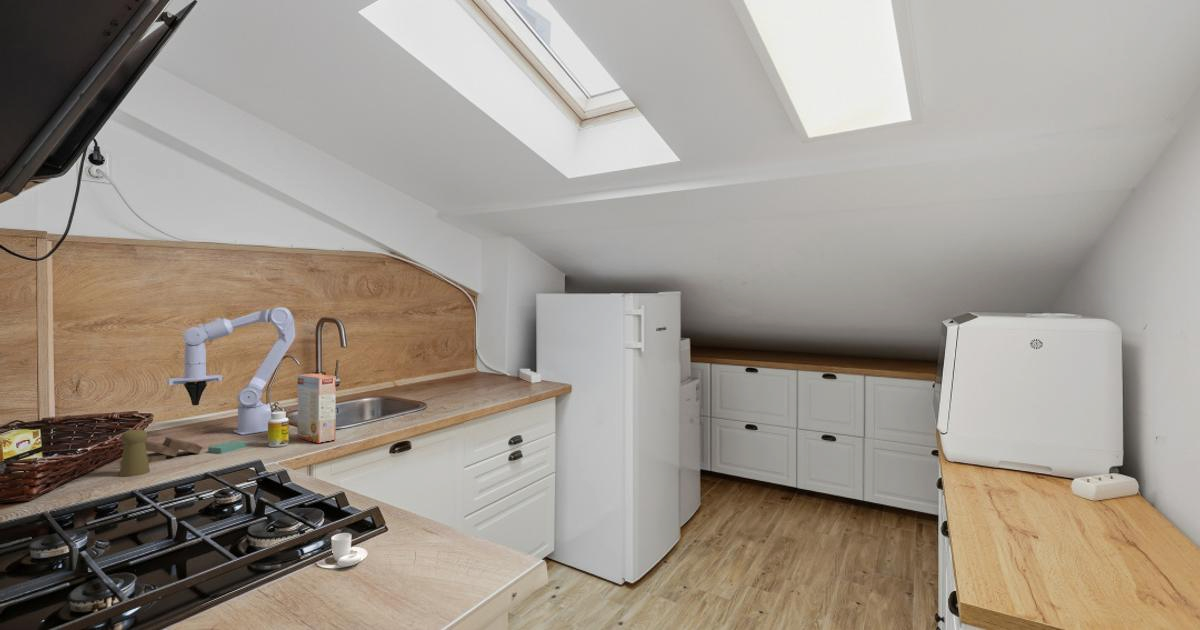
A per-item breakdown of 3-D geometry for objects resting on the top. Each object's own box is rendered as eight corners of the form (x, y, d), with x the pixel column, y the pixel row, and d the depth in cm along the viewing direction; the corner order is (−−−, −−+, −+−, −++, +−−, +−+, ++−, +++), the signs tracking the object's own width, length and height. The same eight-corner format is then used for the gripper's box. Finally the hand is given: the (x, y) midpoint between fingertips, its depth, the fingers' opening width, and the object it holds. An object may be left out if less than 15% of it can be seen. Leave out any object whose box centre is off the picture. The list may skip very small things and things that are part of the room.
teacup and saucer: (363, 570, 91) (363, 545, 91) (310, 576, 89) (309, 551, 88) (370, 547, 99) (370, 525, 99) (321, 552, 97) (321, 529, 97)
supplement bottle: (282, 447, 168) (282, 414, 167) (264, 447, 167) (263, 414, 167) (292, 443, 173) (292, 410, 173) (274, 443, 173) (274, 410, 173)
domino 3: (196, 443, 164) (166, 437, 158) (202, 447, 161) (172, 440, 155) (192, 450, 163) (162, 443, 157) (199, 453, 160) (168, 447, 154)
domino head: (233, 440, 169) (208, 447, 162) (246, 442, 168) (221, 448, 160) (233, 447, 170) (208, 453, 162) (246, 448, 168) (221, 455, 160)
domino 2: (162, 451, 157) (125, 456, 151) (165, 454, 154) (128, 460, 148) (162, 458, 157) (125, 464, 151) (165, 461, 154) (128, 467, 148)
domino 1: (174, 446, 159) (141, 439, 153) (179, 449, 156) (146, 442, 150) (170, 453, 158) (138, 446, 153) (175, 456, 155) (142, 449, 150)
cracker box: (336, 440, 176) (336, 375, 176) (317, 444, 172) (317, 377, 171) (315, 434, 185) (315, 372, 184) (296, 438, 180) (296, 374, 180)
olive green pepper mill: (155, 470, 143) (155, 428, 143) (129, 477, 138) (128, 433, 138) (140, 468, 145) (139, 427, 145) (113, 475, 140) (113, 432, 140)
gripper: (217, 361, 189) (217, 400, 189) (164, 364, 178) (164, 406, 178) (224, 362, 185) (224, 403, 185) (170, 366, 174) (170, 409, 174)
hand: (195, 404), depth 181 cm, fingers closed
